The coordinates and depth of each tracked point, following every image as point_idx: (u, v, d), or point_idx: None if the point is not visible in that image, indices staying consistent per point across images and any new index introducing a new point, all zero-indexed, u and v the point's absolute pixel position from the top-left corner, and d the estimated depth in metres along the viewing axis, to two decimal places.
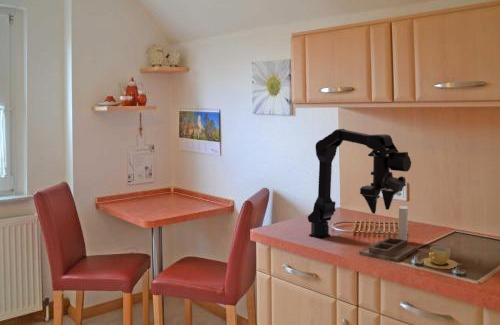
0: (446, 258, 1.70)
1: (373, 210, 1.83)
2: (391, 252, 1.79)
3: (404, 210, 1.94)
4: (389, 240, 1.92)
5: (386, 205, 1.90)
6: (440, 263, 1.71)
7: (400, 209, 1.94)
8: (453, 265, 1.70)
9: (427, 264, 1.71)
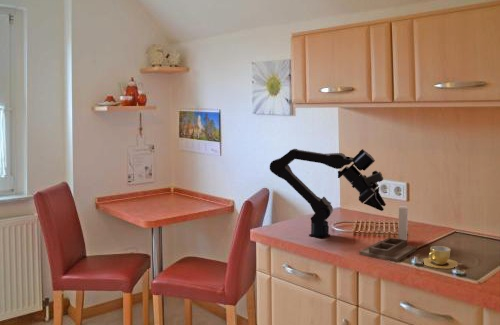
0: (446, 258, 1.70)
1: (381, 207, 1.94)
2: (391, 252, 1.79)
3: (404, 210, 1.94)
4: (389, 240, 1.92)
5: (381, 203, 2.03)
6: (440, 263, 1.71)
7: (400, 209, 1.94)
8: (453, 264, 1.70)
9: (427, 264, 1.71)
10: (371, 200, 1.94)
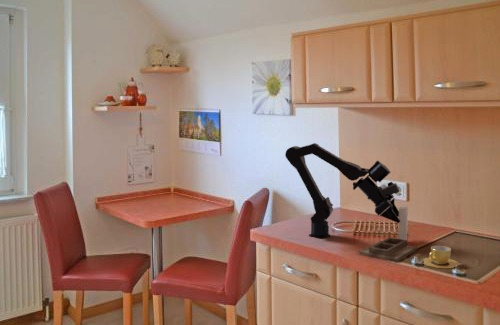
0: (447, 258, 1.70)
1: (397, 219, 1.93)
2: (391, 252, 1.79)
3: (404, 210, 1.94)
4: (389, 240, 1.92)
5: (397, 214, 2.02)
6: (441, 263, 1.71)
7: (400, 209, 1.94)
8: (453, 264, 1.71)
9: (428, 263, 1.72)
10: (387, 212, 1.93)
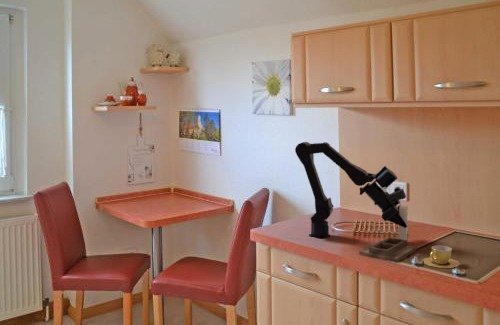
0: (447, 257, 1.71)
1: (404, 224, 1.94)
2: (391, 252, 1.79)
3: (404, 210, 1.94)
4: (389, 240, 1.92)
5: None
6: (441, 262, 1.71)
7: (400, 209, 1.94)
8: (454, 264, 1.71)
9: (428, 263, 1.72)
10: (394, 217, 1.94)
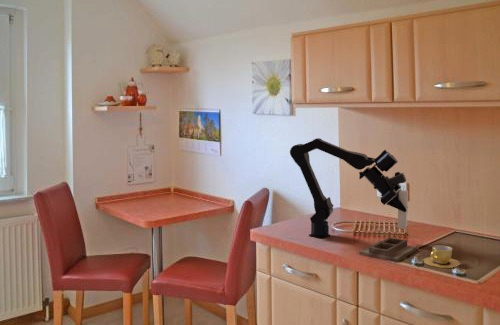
0: (448, 257, 1.71)
1: (404, 208, 1.92)
2: (391, 252, 1.79)
3: (404, 194, 1.92)
4: (389, 240, 1.92)
5: None
6: (442, 262, 1.72)
7: (400, 193, 1.93)
8: (455, 264, 1.71)
9: (429, 263, 1.72)
10: (394, 201, 1.92)
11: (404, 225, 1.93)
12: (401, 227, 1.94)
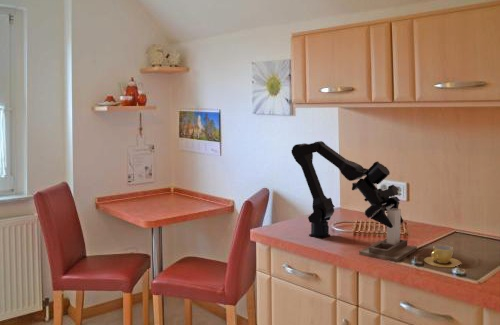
0: (449, 257, 1.71)
1: (389, 224, 1.83)
2: (391, 252, 1.79)
3: (392, 212, 1.85)
4: None
5: None
6: (443, 262, 1.72)
7: (388, 211, 1.86)
8: (455, 263, 1.71)
9: (430, 262, 1.73)
10: (379, 216, 1.85)
11: None
12: None
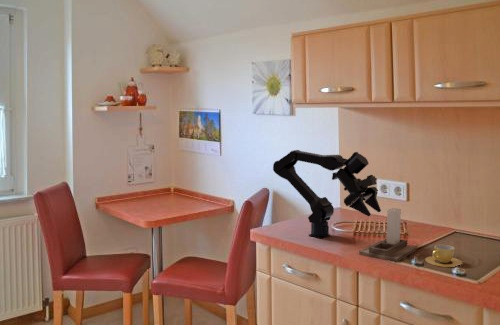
0: (450, 256, 1.72)
1: (367, 212, 1.89)
2: (391, 252, 1.79)
3: (392, 212, 1.85)
4: None
5: (376, 209, 1.96)
6: (444, 261, 1.73)
7: (388, 211, 1.86)
8: (456, 263, 1.72)
9: (431, 262, 1.73)
10: (358, 204, 1.90)
11: None
12: None
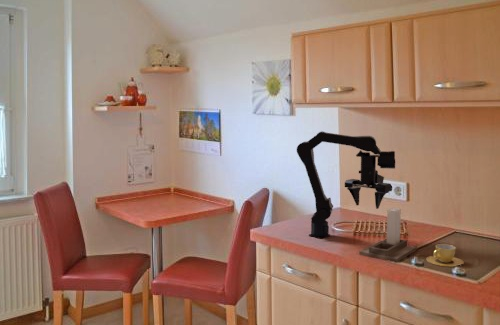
0: (451, 256, 1.72)
1: (379, 205, 1.99)
2: (391, 252, 1.79)
3: (392, 212, 1.85)
4: None
5: (357, 201, 2.05)
6: (445, 261, 1.73)
7: (388, 211, 1.86)
8: (457, 262, 1.72)
9: (432, 261, 1.74)
10: (379, 194, 1.97)
11: None
12: None
